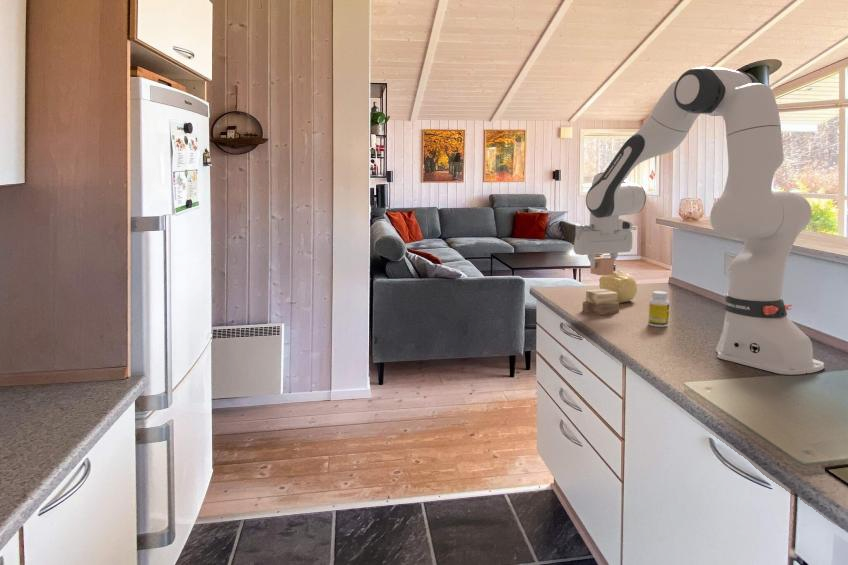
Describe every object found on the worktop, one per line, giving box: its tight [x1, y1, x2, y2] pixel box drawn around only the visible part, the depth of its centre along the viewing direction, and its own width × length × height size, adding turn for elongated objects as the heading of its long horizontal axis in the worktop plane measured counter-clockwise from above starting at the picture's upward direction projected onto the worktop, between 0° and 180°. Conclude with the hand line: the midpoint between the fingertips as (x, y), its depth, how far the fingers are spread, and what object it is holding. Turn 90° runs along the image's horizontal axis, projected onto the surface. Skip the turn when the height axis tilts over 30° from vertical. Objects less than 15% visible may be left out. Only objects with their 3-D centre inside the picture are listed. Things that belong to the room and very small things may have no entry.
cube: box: [590, 256, 615, 277], centre depth 183 cm, size 5×5×5 cm
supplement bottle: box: [647, 290, 670, 328], centre depth 166 cm, size 5×5×10 cm
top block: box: [585, 288, 617, 305], centre depth 184 cm, size 7×7×4 cm
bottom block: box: [582, 300, 620, 316], centre depth 185 cm, size 8×8×4 cm
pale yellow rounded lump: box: [598, 270, 638, 304], centre depth 200 cm, size 12×12×11 cm
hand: (602, 267), depth 183 cm, fingers closed on cube, 5 cm apart
